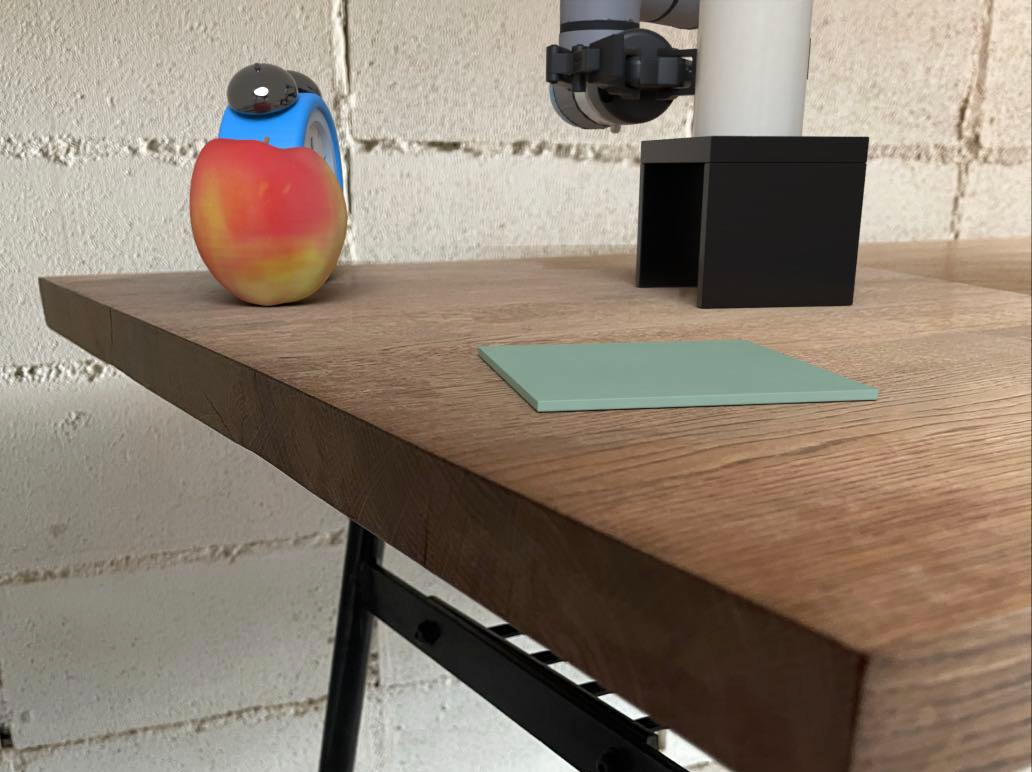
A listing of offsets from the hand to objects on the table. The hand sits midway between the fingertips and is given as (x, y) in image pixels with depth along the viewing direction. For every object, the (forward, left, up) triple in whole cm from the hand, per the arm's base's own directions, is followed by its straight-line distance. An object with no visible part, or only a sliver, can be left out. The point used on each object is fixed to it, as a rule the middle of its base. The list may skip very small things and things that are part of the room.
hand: (712, 57), depth 78 cm
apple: (+31, +7, -16) cm, 35 cm away
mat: (+15, +36, -16) cm, 42 cm away
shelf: (0, +7, -16) cm, 17 cm away
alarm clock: (+30, -7, -16) cm, 35 cm away
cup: (0, +7, -6) cm, 9 cm away
